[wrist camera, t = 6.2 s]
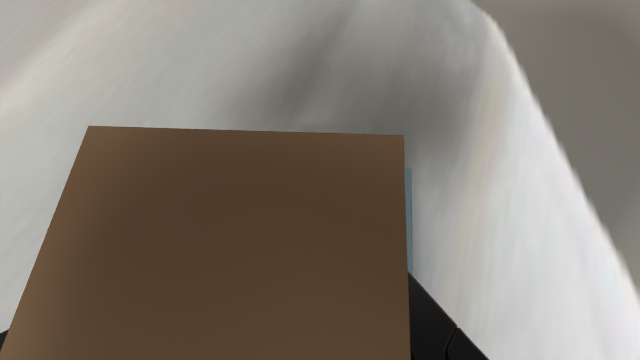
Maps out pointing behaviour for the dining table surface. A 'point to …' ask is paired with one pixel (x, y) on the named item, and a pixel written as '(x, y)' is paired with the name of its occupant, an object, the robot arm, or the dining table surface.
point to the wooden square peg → (222, 250)
